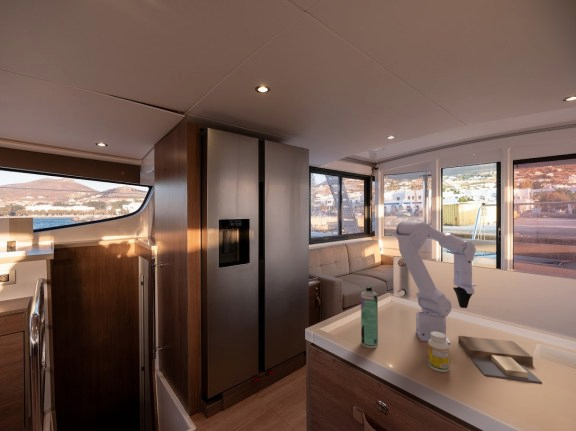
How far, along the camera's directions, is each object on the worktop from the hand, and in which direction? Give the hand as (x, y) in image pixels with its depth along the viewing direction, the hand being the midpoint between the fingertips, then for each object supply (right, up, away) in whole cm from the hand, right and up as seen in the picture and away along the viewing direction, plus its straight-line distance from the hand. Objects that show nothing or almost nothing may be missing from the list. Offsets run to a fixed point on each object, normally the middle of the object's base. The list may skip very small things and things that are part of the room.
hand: (463, 307), depth 98 cm
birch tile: (-4, -9, -24) cm, 26 cm away
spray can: (-39, -10, -9) cm, 41 cm away
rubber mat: (-5, -9, -24) cm, 26 cm away
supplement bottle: (-23, -10, -23) cm, 34 cm away
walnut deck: (-1, -9, -15) cm, 18 cm away
